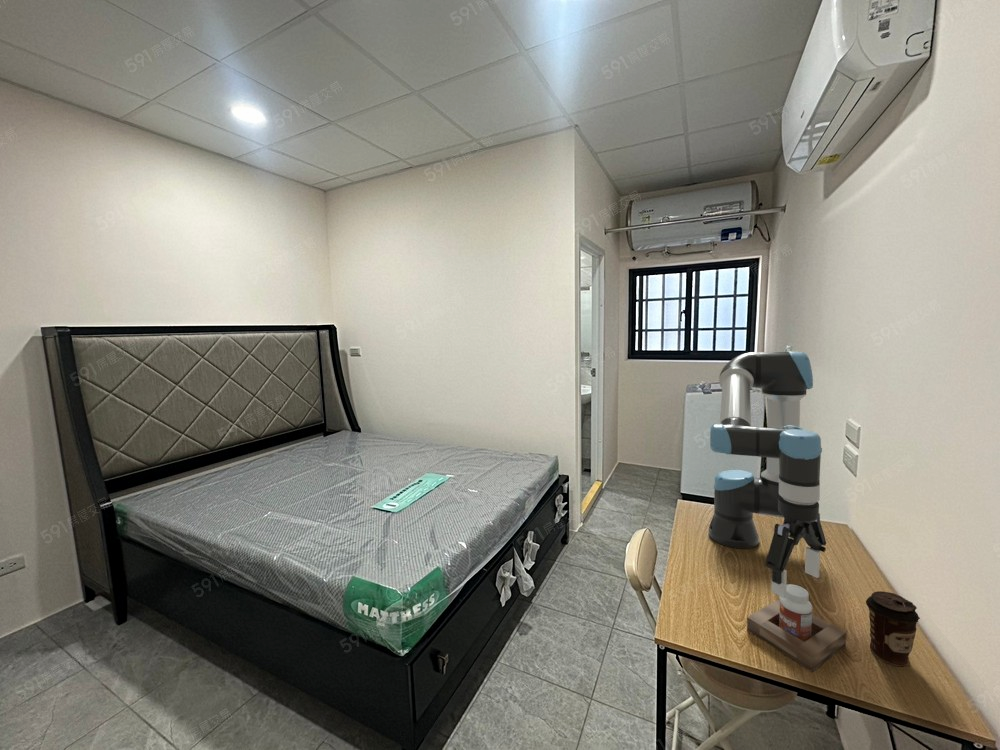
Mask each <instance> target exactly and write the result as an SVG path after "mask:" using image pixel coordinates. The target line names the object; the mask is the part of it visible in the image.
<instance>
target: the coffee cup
mask: <svg viewBox="0 0 1000 750" xmlns="http://www.w3.org/2000/svg"><path fill="white" fill-rule="evenodd" d="M865 604H866V606H867V607H868V611H869V612H868V613H869V614H868V617H869V626H870V627H869V636H870V637H869V638H870V643H869V648H870V650H871V653H872V654H873V655H874V656H876V657H877V658H878V659H879V660H881V661H883V662H884V663H887V664H890V665H894V666H897V667H898V666H900V667H902V666H903V667H904V666H907V665H909V663H910V658H909V657H910V654H911V653H912V651H913V645H914V642H915V641H914V640H915V638H916V633H917V623H918V622H919V620H920V619H921V618H920V616H919V614H918V613H917V611H916V609H917V608H918V607H917V606H916V605H915V604H914V603H913V602H912V601H910V600H908V599H906V598H905V597H903V596H901V595H899V594H896V593H894V592H893V593H892V592H889V591H873V592H872V593H871V596H869V597H868V598H866V600H865ZM917 610H918V609H917Z"/></svg>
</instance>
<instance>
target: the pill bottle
mask: <svg viewBox="0 0 1000 750" xmlns="http://www.w3.org/2000/svg"><path fill="white" fill-rule="evenodd" d="M809 597H810V593H809V592H808V590H807V589H806V588H803V587H802V586H799V585H796V584H792V583H791V584H786V598H782V597H780V596H779V599H780V615H779V627H780V628H781V629H783V630H785V631H786V632H788V633H790V634H791V635H793V636H795V637H797V638H798V639H800V640H802V641H803V642H806V641H807V640H809V639H810V638H811V627H812V614H813V605H812V603H811V602H810V601H809Z"/></svg>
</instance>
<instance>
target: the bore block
mask: <svg viewBox="0 0 1000 750" xmlns="http://www.w3.org/2000/svg"><path fill="white" fill-rule="evenodd" d="M779 615H780V598H779V599H777V600H775V601H773V602H772V603H770V604H768V605H766V606H764V607H763V608H761V609H759V610H757V611H756V612H753V613H752V614H750V615H749V616H747V617H746V620H747V621H746V631H747V632H749V633H750V634H751V635H753V636H755V637H756V638H758V639H760V640H762V641H763V642H765V644H768V645H769V646H771V647H772V648H773V649H776V651H778V652H780V653H781V654H783V655H784V656H787V657H788V658H789V659H791V660H792V661H794V662H796V663H797V664H799V665H800V666H802V667H803V666H804V667H803V668H805V669H806V668H807V669H806V670H808V669H809V670H808V671H809V672H811V671H812V672H814V671H815V670H817V669H818V668H819V667H821V665H823V664H824V663H826V662H827V661H828V660H830V659H831V658H833V656H835V655H836V654H838V653H839V652H841V651H842V650H843V649H845V648H846V647H847V631H845V630H842V629H841V628H839V627H837V626H835V625H834V624H831V623H829V622H828V621H825V620H824V619H822V618H820V617H818V616H816V615H814V614H813V613H812V627H811V638H810V639H809V640H807V641H806V642H803V641H802V640H800V639H798V638H797V637H795V636H793V635H791V634H790V633H788V632H786V631H785V630H783V629H781V628H780V627H779ZM813 670H814V671H813Z"/></svg>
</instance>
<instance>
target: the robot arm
mask: <svg viewBox="0 0 1000 750" xmlns="http://www.w3.org/2000/svg"><path fill="white" fill-rule="evenodd" d="M812 369H813V368H812V365H811V360H810V358H809V356H808V354H807V353H806V352H804V351H790V350H789V351H787V350H786V351H784V350H783V351H765V352H764V351H760V352H759V351H757V352H755V351H750V352H745V353H741V354H739V355H737V356H735V357H733V358H732V359H731V360H729V361H728V362H727V363H726V364H725V365H724V366H723V368H722V369H721V371H720V374H719V377H718V378H719V380H718V381H719V382H718V384H719V386H720V388H721V400H720V412H719V413H720V414H719V415H720V416H719V423H717V424H712V425H711V426H710V432H709V433H710V434H709V440H710V441H709V444H710V445H709V446H710V450H711V451H712V452H714V453H719V454H724V455H725V454H726V455H734V456H735V455H736V456H750V457H758V458H766V469H764V470H763V471H762V472H761V473H760V477H754V474H753V473H752V472H751V471H746V470H743V469H728V470H723V471H719V472H718V473H717V474H715V477H714V483H713V484H714V485H713V489H714V499H713V501H714V503H713V505H714V507H713V508H714V509H713V514H712V515H713V516H712V517H711V520H710V523H709V526H708V535H709V537H710V539H712V540H713V541H714V542H716V543H718V544H720V545H723V546H726V547H730V548H735V549H743V550H744V549H751V548H754V547H757V546H758V544H759V542H760V541H759V538H760V537H759V536H760V535H759V533H758V529H757V528H756V525H755V521H754V516H753V514H757V515H758V514H759V515H765V516H770V517H771V516H772V517H778V518H782V519H783V523H782V524H780V523H775V524H774V528H773V529H774V530H773V536H772V539H771V542H770V545H769V549H768V554H767V556H766V560H765V563H764V566H765V567H766V568H768V569H770V570H771V593H773V594H775V595H776V596H778V597H779V598H780V597H782V598H786V585H787V578H788V577H787V574H788V573H787V572H788V571H787V570H786V567H787V564H788V561H789V559H790V557H791V554H792V552H793V549H794V547H795V546H797V545H799V543H800V540H802V538H803V539H804V542H805V543H806V544H807V545H808V546H806V547H805V551H804V552H805V555H804V556H805V557H804V558H805V559H804V560H805V562H804V573H805V574H808V575H810V576H811V577H814V578H816V579H819V578H820V570H821V569H820V568H821V566H820V565H821V564H820V563H821V552H823V553H825V552H826V551H827V550H826V549H827V548H826V547H825V546H826V545H827V539H826V537H825V534H824V530H823V526H822V524H821V520H820V519H821V513H820V503H819V501H820V499H821V497H820V496H821V495H820V493H821V492H820V490H821V489H820V488H821V483H820V482H821V481H820V479H821V478H820V476H821V459H822V457H821V456H822V455H821V454H822V452H823V448H822V441H821V440H822V439H821V436H820V435H819V434H818V433H816V432H814V431H811V430H807V429H803V428H802V427H800V426H801V425H800V424H801V423H800V422H801V421H800V420H801V418H800V416H801V400H802V399H803V398H804V397H806V396H807V390H810V389H813V388H814V379H813V370H812ZM752 388H758V389H760V388H761V389H762V390H761V394H762V395H763V396H764V397H766V399H767V409H766V411H767V419H766V420H767V422H766V426H767V427H763V426H761V427H760V426H752V413H751V412H752V411H751V409H752V408H751V405H752V404H751V389H752Z"/></svg>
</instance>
